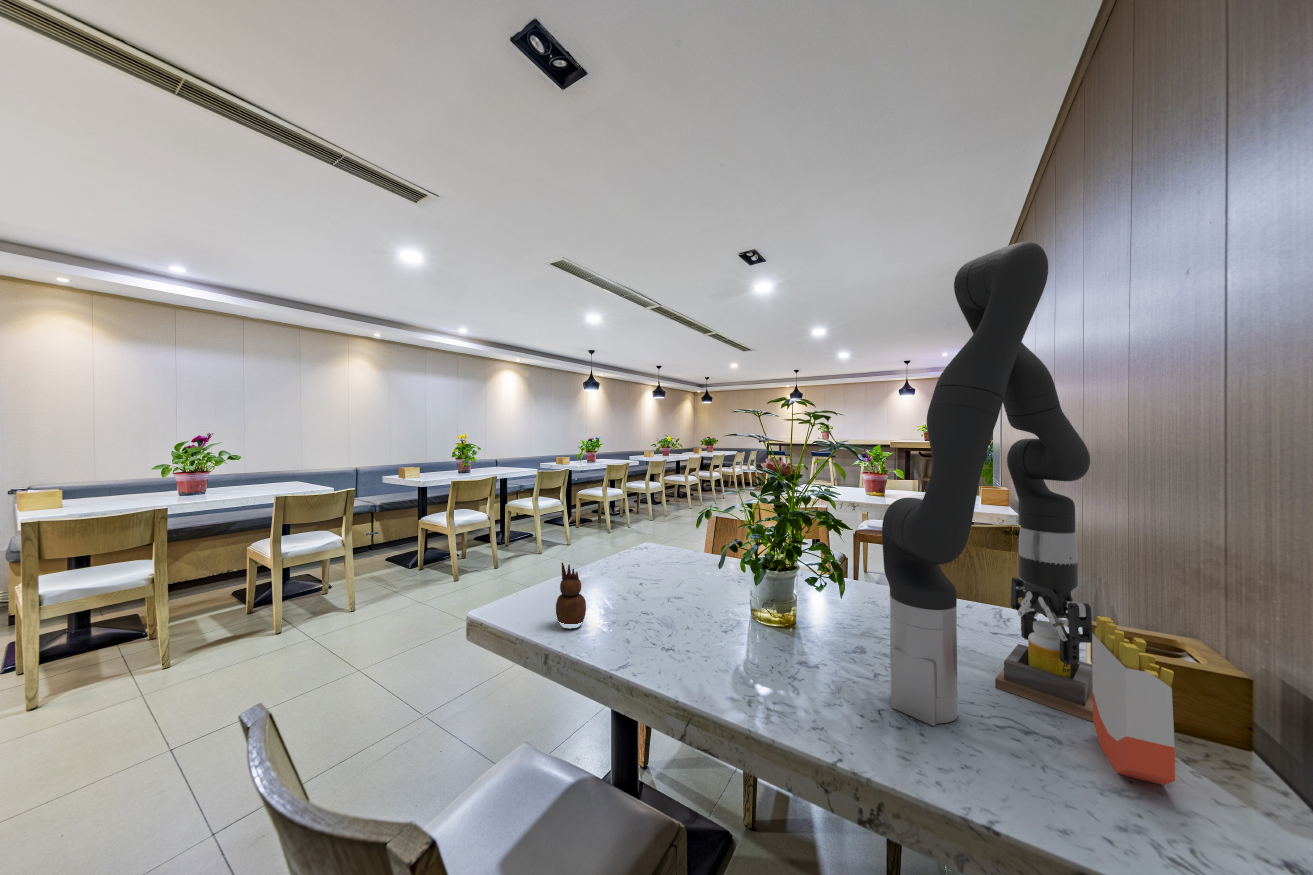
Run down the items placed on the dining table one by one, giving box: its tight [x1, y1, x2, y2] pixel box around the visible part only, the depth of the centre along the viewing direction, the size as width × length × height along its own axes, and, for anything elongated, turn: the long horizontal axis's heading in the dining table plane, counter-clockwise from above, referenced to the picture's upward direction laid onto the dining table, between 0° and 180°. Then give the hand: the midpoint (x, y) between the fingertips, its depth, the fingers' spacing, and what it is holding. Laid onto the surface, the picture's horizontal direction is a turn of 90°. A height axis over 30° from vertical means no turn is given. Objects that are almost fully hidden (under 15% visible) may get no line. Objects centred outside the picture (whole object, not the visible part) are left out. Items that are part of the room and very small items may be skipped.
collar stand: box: [994, 643, 1094, 723], centre depth 75 cm, size 12×12×4 cm
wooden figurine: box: [555, 562, 587, 624], centre depth 102 cm, size 7×6×15 cm
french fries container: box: [1091, 615, 1176, 786], centre depth 58 cm, size 5×11×18 cm, turn 151°
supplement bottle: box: [1027, 620, 1071, 679], centre depth 74 cm, size 5×5×10 cm
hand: (1048, 650), depth 75 cm, fingers open, 8 cm apart
